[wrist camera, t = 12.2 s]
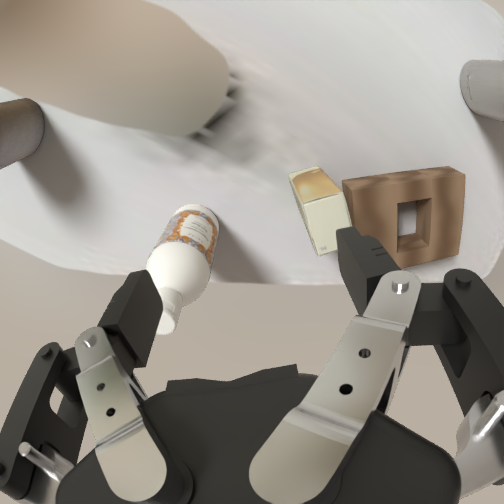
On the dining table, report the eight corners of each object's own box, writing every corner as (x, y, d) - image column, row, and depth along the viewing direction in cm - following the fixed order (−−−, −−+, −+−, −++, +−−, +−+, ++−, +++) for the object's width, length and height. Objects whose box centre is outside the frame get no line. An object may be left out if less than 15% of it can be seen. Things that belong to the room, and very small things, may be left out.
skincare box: (329, 206, 41) (357, 248, 30) (300, 215, 41) (317, 260, 31) (317, 162, 38) (344, 190, 27) (286, 172, 38) (301, 204, 28)
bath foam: (229, 219, 42) (214, 317, 24) (203, 256, 44) (178, 360, 27) (185, 193, 40) (138, 276, 22) (163, 232, 42) (112, 327, 25)
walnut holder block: (448, 166, 37) (465, 174, 33) (444, 241, 43) (458, 254, 39) (341, 180, 39) (352, 190, 35) (348, 261, 45) (356, 278, 41)
